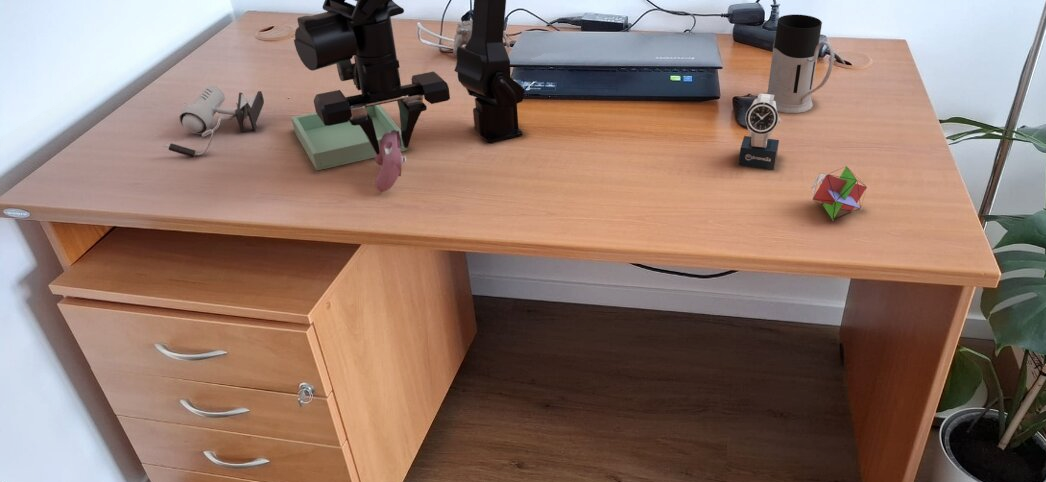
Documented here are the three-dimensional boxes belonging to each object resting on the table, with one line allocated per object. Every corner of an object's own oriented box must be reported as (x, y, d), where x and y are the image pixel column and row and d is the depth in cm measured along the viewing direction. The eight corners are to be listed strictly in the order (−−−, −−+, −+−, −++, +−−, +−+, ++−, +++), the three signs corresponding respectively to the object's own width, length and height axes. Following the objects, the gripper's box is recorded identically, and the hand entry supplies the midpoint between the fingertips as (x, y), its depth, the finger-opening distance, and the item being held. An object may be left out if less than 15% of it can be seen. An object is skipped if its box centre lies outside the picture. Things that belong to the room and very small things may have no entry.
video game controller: (407, 193, 122) (406, 150, 118) (375, 193, 121) (373, 150, 117) (405, 163, 130) (403, 122, 126) (375, 163, 129) (373, 122, 125)
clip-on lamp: (229, 175, 133) (272, 108, 145) (218, 145, 128) (264, 78, 140) (159, 165, 133) (208, 99, 145) (145, 135, 128) (197, 69, 140)
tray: (379, 115, 145) (376, 100, 143) (406, 150, 134) (404, 134, 132) (295, 132, 139) (291, 117, 137) (316, 170, 128) (313, 154, 126)
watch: (736, 171, 128) (743, 105, 121) (743, 148, 134) (751, 84, 128) (772, 175, 127) (782, 109, 120) (778, 152, 133) (787, 88, 127)
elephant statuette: (462, 46, 173) (458, 10, 169) (517, 49, 172) (515, 12, 168) (450, 62, 166) (446, 25, 161) (508, 65, 164) (506, 27, 160)
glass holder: (793, 90, 154) (804, 10, 145) (842, 119, 143) (857, 35, 135) (754, 98, 151) (763, 17, 142) (801, 128, 140) (814, 43, 132)
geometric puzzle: (864, 185, 120) (840, 147, 115) (883, 209, 114) (858, 170, 110) (822, 213, 122) (796, 177, 117) (838, 238, 116) (812, 201, 112)
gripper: (419, 23, 125) (432, 117, 134) (295, 44, 118) (317, 143, 127) (445, 45, 117) (456, 144, 126) (313, 70, 110) (335, 173, 119)
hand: (391, 150), depth 125 cm, fingers closed on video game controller, 4 cm apart
